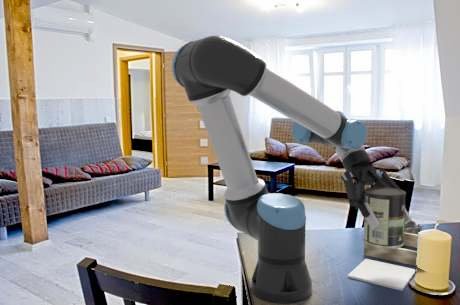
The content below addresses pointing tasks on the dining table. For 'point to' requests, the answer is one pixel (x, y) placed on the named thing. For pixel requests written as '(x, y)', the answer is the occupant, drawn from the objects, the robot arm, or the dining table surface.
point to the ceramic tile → (382, 274)
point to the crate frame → (396, 251)
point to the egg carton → (412, 227)
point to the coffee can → (385, 217)
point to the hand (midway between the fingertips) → (392, 224)
